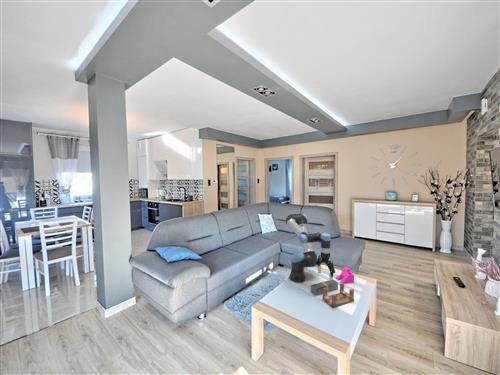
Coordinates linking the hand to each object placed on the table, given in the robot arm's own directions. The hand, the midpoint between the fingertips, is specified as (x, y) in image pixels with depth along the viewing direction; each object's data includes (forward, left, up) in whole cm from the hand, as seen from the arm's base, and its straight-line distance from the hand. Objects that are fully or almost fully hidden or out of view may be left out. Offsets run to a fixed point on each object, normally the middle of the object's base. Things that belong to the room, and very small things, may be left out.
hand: (325, 276), depth 178 cm
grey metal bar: (0, 0, -13) cm, 13 cm away
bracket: (-6, +29, -13) cm, 33 cm away
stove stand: (+15, 0, -13) cm, 19 cm away
